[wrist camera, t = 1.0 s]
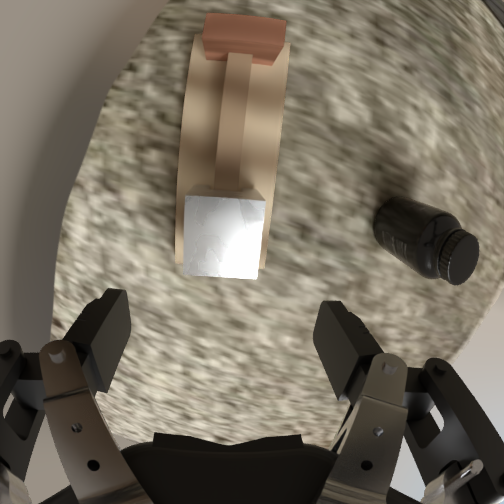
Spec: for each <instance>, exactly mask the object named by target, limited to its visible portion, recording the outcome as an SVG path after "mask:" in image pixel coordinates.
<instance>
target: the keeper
mask: <svg viewBox="0 0 504 504" xmlns="http://www.w3.org/2000/svg"><path fill="white" fill-rule="evenodd" d="M265 206H266V200H265V199H264V198H263V197H262V195H261V194H260V193H259V191H258V190H257V189H251V188H241V192H239V191H226V190H212V189H210V185H194V186H193V187H192V188H191V189H190V190H189V192H188V193H187V194H186V195H185V211H184V245H183V275H197V276H213V277H229V278H248V279H257V272H258V264H259V256H260V248H261V240H262V231H263V223H264V215H265Z"/></svg>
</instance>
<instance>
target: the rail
mask: <svg viewBox="0 0 504 504" xmlns="http://www.w3.org/2000/svg"><path fill="white" fill-rule="evenodd" d="M285 31H286V21H284V20H278V19H272V18H265V17H257V16H249V15H238V14H223V13H207V14H206V19H205V24H204V29H203V34H195V36H194V41H193V47H192V52H191V58H190V65H189V71H188V78H187V85H186V92H185V100H184V108H183V117H182V127H181V137H180V148H179V161H178V177H177V196H176V228H175V263H177V264H183V245H184V211H185V195H186V194H187V193H188V192H189V190H190V189H191V188H192V187H193V186H194V185H210V189H212V190H226V191H239V192H241V188H251V189H257V190H258V191H259V193H260V194H261V195H262V197H263V198H264V199H265V200H266V206H265V215H264V223H263V231H262V240H261V248H260V256H259V264H258V269H264V267H265V259H266V252H267V244H268V236H269V229H270V221H271V213H272V205H273V197H274V188H275V180H276V172H277V163H278V155H279V146H280V137H281V128H282V119H283V110H284V101H285V91H286V82H287V72H288V62H289V52H290V43H288V42H284V41H285Z"/></svg>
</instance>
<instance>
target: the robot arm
mask: <svg viewBox="0 0 504 504" xmlns="http://www.w3.org/2000/svg"><path fill="white" fill-rule="evenodd" d="M130 333H131V318H130V311H129V304H128V297H127V292H126V290H122V289H112V288H108V289H107V290H106V291H105V292H104V294H103V295H102V297H101V298H100V299H95V300H93V301H92V302H90V303H89V304H87V305H86V307H85V308H84V309H83V311H82V314H81V313H80V315H79V316H78V318H77V320H75V322H74V323H73V325H72V326H71V328H70V329H69V330H68V332H67V333H66V335H65V336H64V338H63V339H62V340H54V341H51V342H49V343H47V344H45V345H44V346H43V347H42V349H41V350H40V352H39V353H23V351H22V348H21V346H20V344H19V343H18V342H16V341H14V340H5V341H3V342H0V504H32V502H31V499H30V497H29V494H28V490H27V488H26V486H25V484H24V480H25V476H26V472H27V468H28V465H29V461H30V458H31V455H32V451H33V448H34V445H35V442H36V439H37V436H38V433H39V430H40V427H41V425H42V422H43V419H44V416H45V414H46V417H47V420H48V424H49V427H50V430H51V434H52V437H53V440H54V443H55V446H56V449H57V452H58V455H59V457H60V460H61V462H62V465H63V468H64V470H65V473H66V475H67V477H68V479H69V482H70V484H71V485H69V486H67V487H66V488H65V489H63V490H61V491H60V492H58V493H56V494H55V495H53V496H51V497H50V498H48V499H46V500H44V501H43V502H41V503H39V504H499V503H501V502H502V501H503V500H504V442H503V441H502V439H501V437H500V436H499V434H498V432H497V431H496V429H495V428H494V426H493V425H492V423H491V421H490V420H489V418H488V417H487V415H486V414H485V412H484V411H483V409H482V408H481V406H480V405H479V403H478V402H477V400H476V399H475V397H474V396H473V395H472V393H471V392H470V390H469V389H468V388H467V386H466V385H465V384H464V382H463V381H462V379H461V378H460V377H459V375H458V374H457V373H456V371H455V370H454V369H453V367H452V366H451V365H450V364H449V363H448V362H446V361H445V360H442V359H440V358H430V359H428V360H427V361H426V363H425V364H424V366H423V368H412V367H407V365H406V363H405V362H404V361H403V360H402V359H401V358H400V357H398V356H396V355H394V354H390V353H384V352H383V350H382V349H381V347H380V346H379V345H378V343H377V342H376V340H375V339H374V337H373V336H372V335H371V334H370V332H369V330H368V329H367V328H365V325H364V323H363V322H362V321H361V319H360V318H359V317H357V316H356V315H355V314H353V313H352V312H348V310H347V309H346V308H345V306H344V305H343V303H342V302H341V301H323V302H322V303H321V305H320V309H319V313H318V316H317V320H316V324H315V328H314V332H313V342H314V346H315V348H316V350H317V352H318V355H319V357H320V359H321V362H322V364H323V366H324V369H325V371H326V374H327V376H328V378H329V381H330V383H331V385H332V388H333V390H334V392H335V395H336V397H337V400H338V401H341V400H347V399H349V401H350V405H349V407H348V409H347V411H346V413H345V416H344V418H343V420H342V422H341V424H340V427H339V429H338V431H337V433H336V435H335V437H334V439H333V441H332V443H331V445H330V447H329V448H328V449H325V448H323V447H319V446H316V445H311V444H304V443H303V441H302V438H301V434H299V435H289V436H276V437H265V438H261V439H257V440H253V441H249V442H244V443H240V444H235V445H222V444H218V443H214V442H210V441H206V440H202V439H199V438H195V437H191V436H183V435H173V434H164V433H157V432H154V438H153V441H152V442H144V443H139V444H136V445H132V446H129V447H127V448H125V449H123V450H121V449H120V447H119V445H118V444H117V442H116V440H115V438H114V437H113V435H112V433H111V431H110V429H109V427H108V425H107V423H106V421H105V419H104V417H103V415H102V413H101V410H100V408H99V406H98V404H97V402H96V399H95V395H96V393H97V391H100V392H104V393H108V390H109V387H110V384H111V382H112V379H113V376H114V374H115V371H116V369H117V366H118V364H119V361H120V359H121V356H122V354H123V351H124V349H125V346H126V344H127V341H128V339H129V337H130ZM10 393H12V395H13V396H14V400H13V401H12V403H11V406H10V408H9V410H8V412H7V414H6V416H5V419H4V417H3V408H4V405H5V403H6V401H7V399H8V397H9V395H10ZM434 405H436V407H437V409H438V410H439V412H440V414H441V415H442V417H443V419H444V427H443V430H442V431H440V429H439V427H438V426H437V424H436V422H435V420H434V419H433V417H432V415H431V413H430V410H431V409H432V408H433V406H434ZM403 435H404V437H405V439H406V442H407V444H408V446H409V448H410V451H411V453H412V455H413V458H414V460H415V462H416V465H417V467H418V469H419V472H420V474H421V476H422V479H423V481H424V484H425V487H426V489H425V492H424V497H423V498H422V499H421V502H419V501H416V500H415V499H413V498H411V497H409V496H407V495H404V494H403V493H401V492H399V491H397V490H395V489H393V488H392V487H390V483H391V480H392V477H393V474H394V470H395V467H396V463H397V460H398V456H399V452H400V448H401V443H402V439H403Z"/></svg>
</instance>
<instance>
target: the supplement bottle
mask: <svg viewBox="0 0 504 504" xmlns="http://www.w3.org/2000/svg"><path fill="white" fill-rule="evenodd" d="M375 236H376V239H377V241H378V243H379V244H380V246H381V247H382V248H383V249H385V250H386V251H388V252H389V253H390V254H392V255H393V256H395V257H396V258H397V259H399V260H400V261H402V262H403V263H405V264H406V265H407V266H409V267H410V268H411V269H413V270H414V271H416V272H417V273H418V274H420V275H421V276H423V277H425V278H427V279H438V278H442V279H444V280H446V281H448V282H449V283H450V284H452V285H459V284H460V285H461V284H462V283H464V282H465V281H466V280H467V279H468V278H469V277H470V276H471V274H472V273H473V271H474V269H475V267H476V265H477V261H478V257H479V242H478V240H477V239H476V237H475V236H474V235H472V234H470V233H468V232H466V231H465V230H463V229H462V228H461V225H460V223H459V221H458V220H457V219H456V217H455V216H453V215H452V214H450V213H448V212H446V211H443V210H441V209H438V208H435V207H433V206H430V205H427V204H424V203H421V202H418V201H415V200H412V199H409V198H406V197H394V198H391V199H389V200H388V201H387V202H385V203H384V204H383V205H382V207H381V208H380V210H379V212H378V214H377V216H376V220H375Z"/></svg>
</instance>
